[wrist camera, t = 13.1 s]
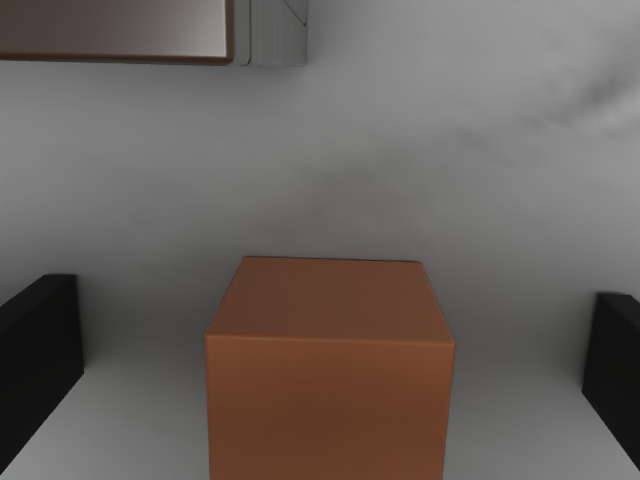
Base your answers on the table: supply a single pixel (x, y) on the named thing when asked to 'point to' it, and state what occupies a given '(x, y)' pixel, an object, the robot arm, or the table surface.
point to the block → (328, 372)
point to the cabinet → (156, 31)
